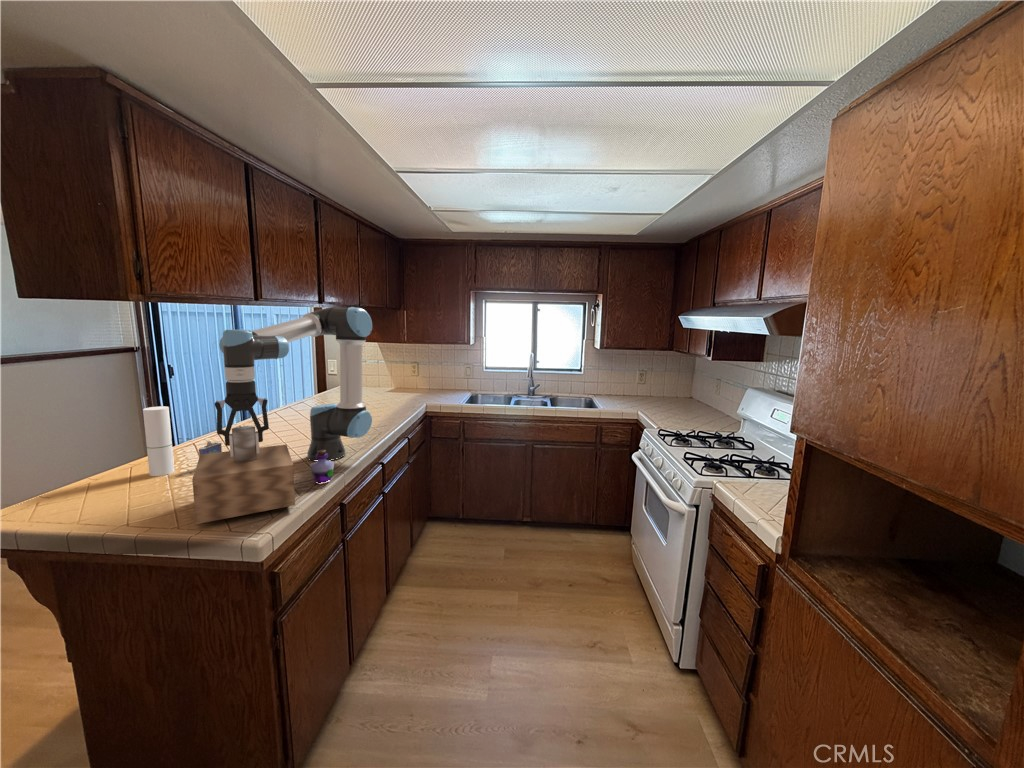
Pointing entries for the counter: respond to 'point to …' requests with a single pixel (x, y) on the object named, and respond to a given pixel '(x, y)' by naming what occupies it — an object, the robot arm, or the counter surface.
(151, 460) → the cylindrical container
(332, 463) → the potion bottle
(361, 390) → the robot arm
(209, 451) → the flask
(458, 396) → the counter surface
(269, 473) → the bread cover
